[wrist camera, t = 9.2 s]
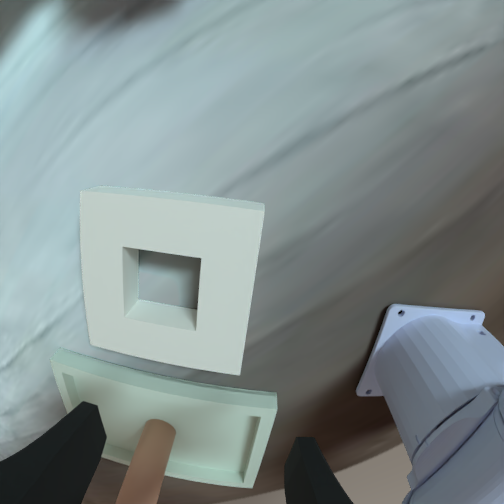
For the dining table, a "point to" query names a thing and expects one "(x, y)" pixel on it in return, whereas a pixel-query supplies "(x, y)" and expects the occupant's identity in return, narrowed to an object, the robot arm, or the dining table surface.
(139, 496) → the dowel
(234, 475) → the tray
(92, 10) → the dining table surface
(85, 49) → the dining table surface
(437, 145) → the dining table surface
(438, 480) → the robot arm
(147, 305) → the socket block
